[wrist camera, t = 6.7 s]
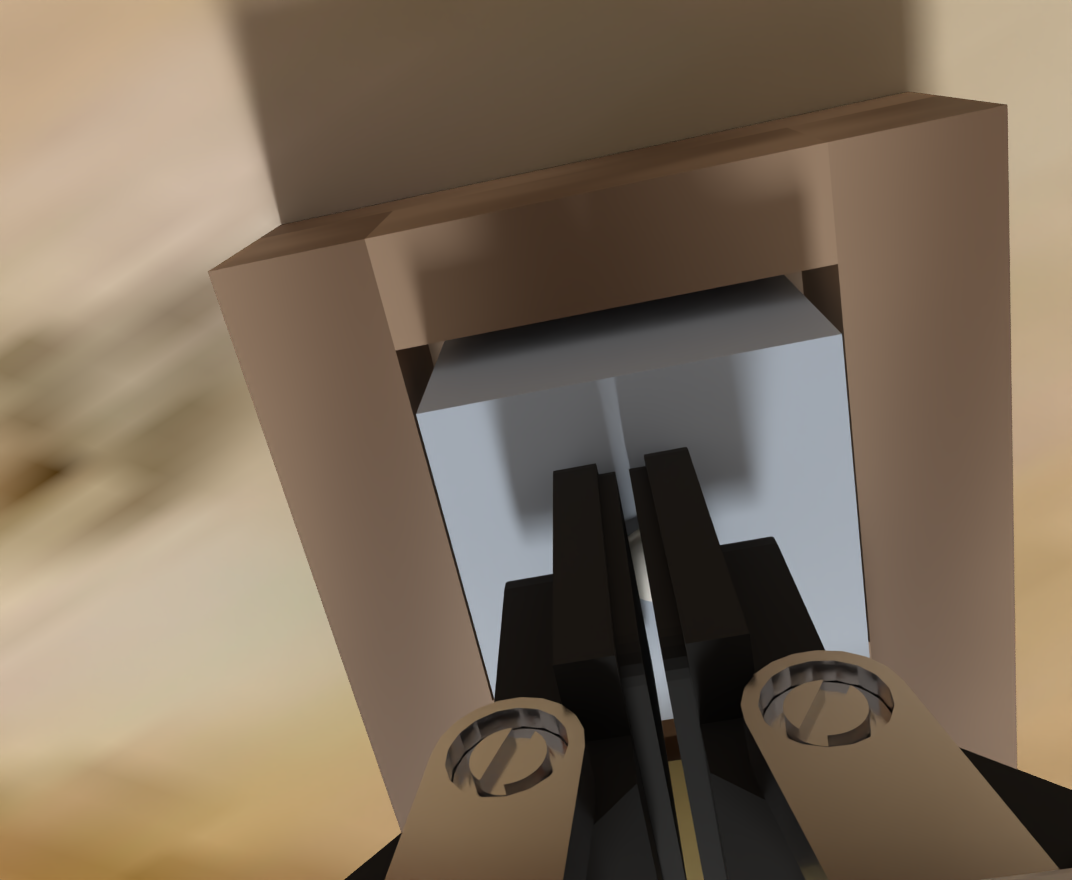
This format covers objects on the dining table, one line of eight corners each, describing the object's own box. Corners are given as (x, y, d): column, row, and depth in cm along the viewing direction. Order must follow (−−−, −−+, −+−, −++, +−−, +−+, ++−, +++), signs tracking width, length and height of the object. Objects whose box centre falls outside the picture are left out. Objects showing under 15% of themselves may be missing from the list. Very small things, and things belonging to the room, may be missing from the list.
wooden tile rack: (908, 91, 14) (1006, 104, 11) (959, 1071, 23) (1023, 1235, 20) (280, 225, 15) (208, 272, 12) (555, 1115, 24) (555, 1277, 21)
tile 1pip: (776, 266, 14) (846, 339, 10) (808, 556, 16) (876, 698, 12) (448, 331, 14) (413, 420, 11) (517, 604, 16) (506, 753, 13)
